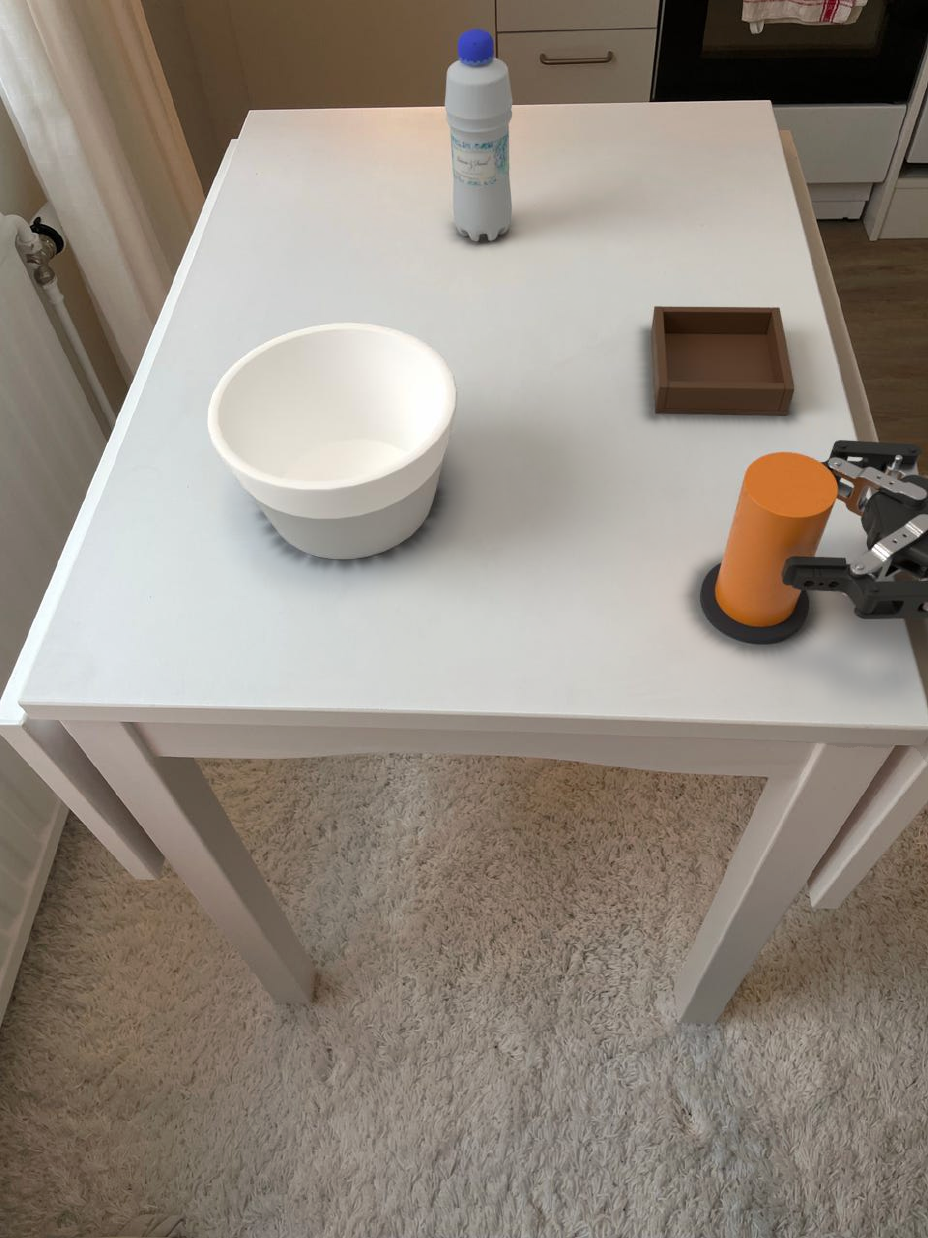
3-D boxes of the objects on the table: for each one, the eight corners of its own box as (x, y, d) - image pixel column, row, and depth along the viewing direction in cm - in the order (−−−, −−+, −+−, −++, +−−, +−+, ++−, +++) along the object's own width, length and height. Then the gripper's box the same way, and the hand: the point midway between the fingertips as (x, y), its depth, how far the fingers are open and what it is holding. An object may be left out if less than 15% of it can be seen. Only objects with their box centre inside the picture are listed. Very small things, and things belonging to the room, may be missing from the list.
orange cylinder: (804, 578, 73) (847, 465, 63) (784, 637, 70) (826, 527, 60) (727, 555, 75) (757, 442, 65) (705, 612, 72) (733, 501, 62)
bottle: (443, 241, 104) (428, 42, 88) (466, 208, 107) (456, 12, 91) (501, 252, 102) (497, 51, 86) (522, 218, 106) (522, 20, 89)
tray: (773, 333, 92) (779, 306, 89) (787, 415, 85) (794, 388, 82) (650, 332, 93) (654, 305, 90) (655, 412, 86) (659, 386, 83)
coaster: (817, 579, 74) (819, 574, 73) (793, 658, 70) (795, 653, 69) (716, 549, 76) (717, 544, 76) (686, 624, 72) (687, 619, 71)
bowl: (298, 403, 89) (274, 304, 80) (494, 444, 84) (490, 343, 76) (198, 553, 78) (159, 458, 70) (416, 609, 74) (402, 514, 65)
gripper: (1018, 415, 65) (776, 411, 67) (1081, 576, 57) (803, 568, 58) (976, 491, 71) (755, 487, 73) (1028, 647, 63) (777, 639, 64)
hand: (776, 523), depth 66 cm, fingers open, 8 cm apart
